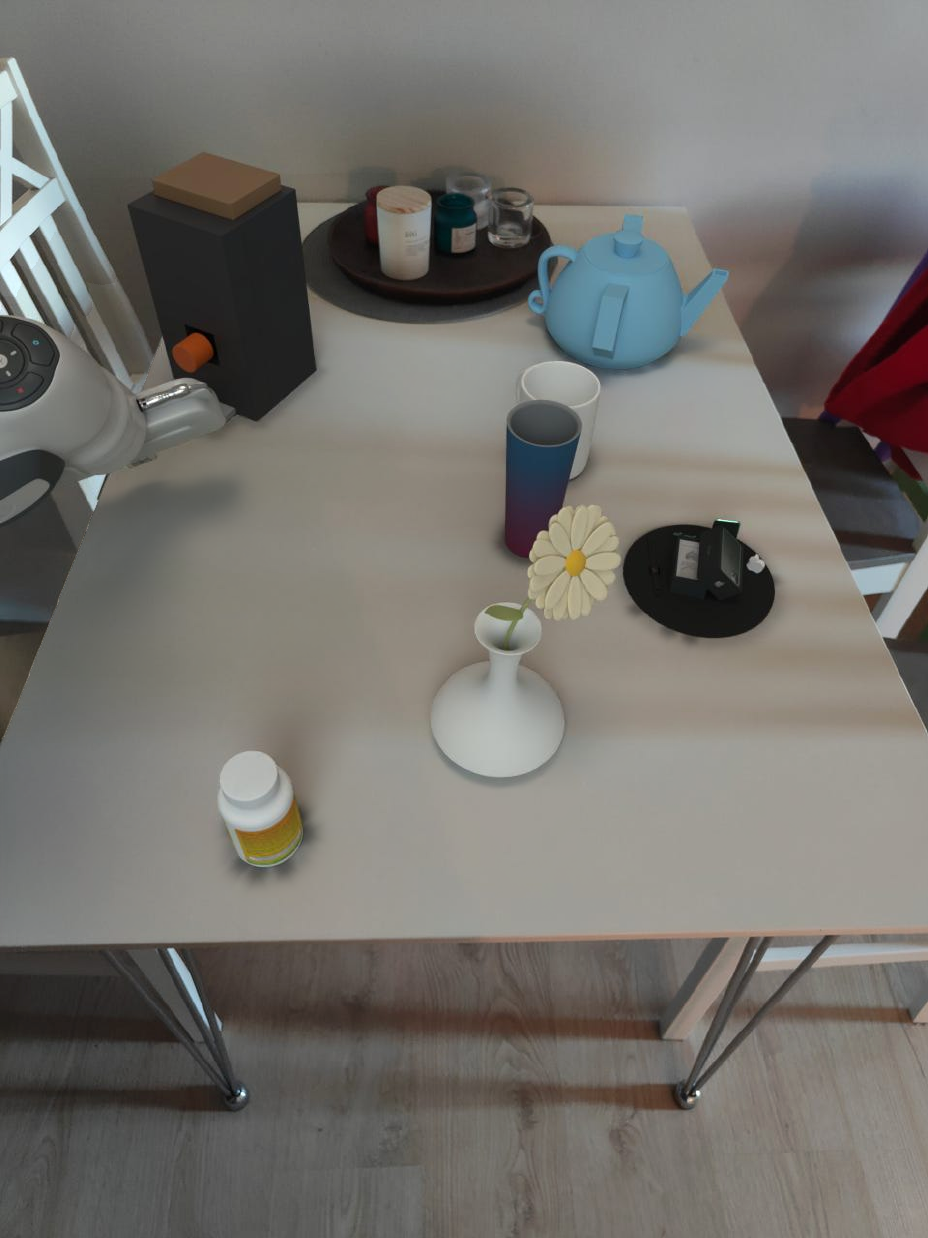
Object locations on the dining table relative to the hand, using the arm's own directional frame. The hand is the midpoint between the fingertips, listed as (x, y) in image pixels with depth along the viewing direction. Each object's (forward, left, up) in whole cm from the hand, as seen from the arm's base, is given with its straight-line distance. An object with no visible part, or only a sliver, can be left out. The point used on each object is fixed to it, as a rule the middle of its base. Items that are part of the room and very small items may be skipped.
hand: (142, 456), depth 88 cm
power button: (+5, +13, +2) cm, 14 cm away
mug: (+43, +2, -4) cm, 43 cm away
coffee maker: (+8, +17, -4) cm, 20 cm away
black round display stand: (+55, -19, -4) cm, 58 cm away
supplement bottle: (+13, -42, -5) cm, 44 cm away
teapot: (+57, +24, -4) cm, 62 cm away
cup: (+39, -12, -4) cm, 41 cm away
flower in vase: (+33, -34, -5) cm, 47 cm away
